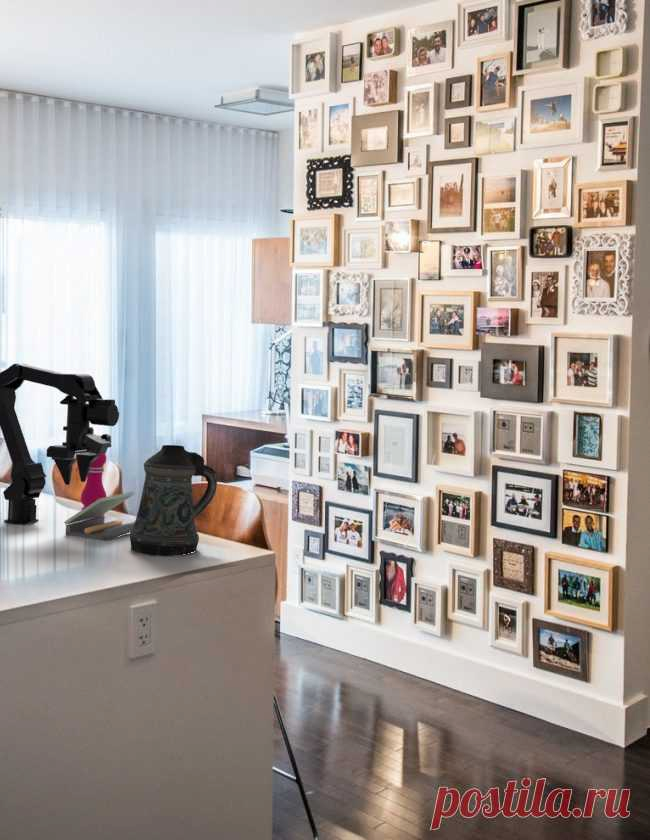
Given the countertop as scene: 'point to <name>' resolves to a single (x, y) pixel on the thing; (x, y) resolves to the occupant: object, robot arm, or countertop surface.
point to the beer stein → (170, 503)
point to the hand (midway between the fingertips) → (75, 483)
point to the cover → (99, 507)
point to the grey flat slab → (98, 528)
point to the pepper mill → (94, 483)
